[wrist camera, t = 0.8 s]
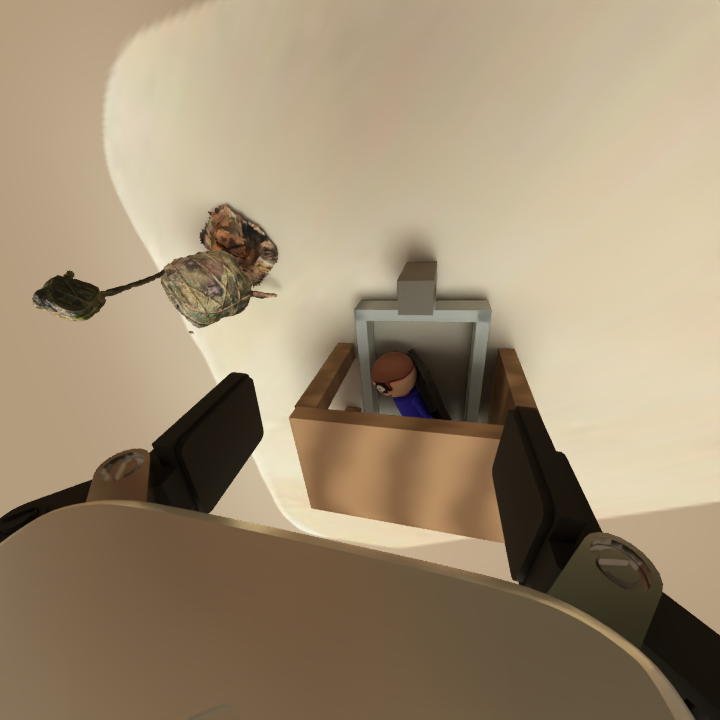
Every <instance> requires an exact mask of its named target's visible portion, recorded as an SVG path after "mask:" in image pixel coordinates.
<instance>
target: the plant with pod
mask: <svg viewBox="0 0 720 720" xmlns="http://www.w3.org/2000/svg"><path fill="white" fill-rule="evenodd" d="M219 207H220V209H221V210H220V209H217V208H215V213H213V212H208V213H209V214H210V215H211V216H212V218H211V217H209V219H210V221H211V222H210V221H208V225H207V223H206V227H205V230H204V229H203V230H204V231H203V230H202V232H203V233H200V239H201V240H200V241H202V242H201V244H202V243H203V244H204V246H205V248H206V247H207V249H208V250H210V251H206V252H198V253H196V254H195V255H189V256H187V257H184V258H182V257H181V258H179V259H174V260H173V261H172V263H171V264H168V265H167V266H165V267H164V269H163V270H162V271H161V272H159V273H157V274H155V275H153V276H150V277H147V278H145V279H143V280H139V281H136V282H133V283H130V284H128V285H125V286H120V287H116V288H112V289H108V290H106V291H101V292H100V291H99V288H98V287H96V286H94V285H92V284H90V283H86V282H83V281H80V280H77V279H73V277H74V273H73V272H72V271H67V273H66V274H64V276H63V277H62V276H59V275H58V276H56V277H54V278H51V279H50V280H49V281H47V282H46V283H45V284H44V286H43V288H42V289H40V290H37V291H36V292H35V294H34V295H33V298H32V299H33V305H34V306H35V307H36V308H39V309H42V310H44V311H46V312H49V313H50V314H53V315H56V316H58V317H59V318H62V319H67V320H70V321H85V320H88V319H89V318H91V317H92V316H93V315H94V314H95V313H97V312H99V311H100V309H101V307H102V306H104V304H105V302H106V300H105V297H106V296H113V295H116V294H118V293H121V292H122V291H124V290H129V289H131V288H132V287H138V286H141V285H143V284H145V283H149V282H150V281H153V280H155V279H156V278H160V277H161V284H162V285H163V288H164V290H165V292H166V294H167V296H168V298H169V300H170V302H171V303H172V304H174V306H175V307H176V309H177V310H178V311H179V312H180V313H181V314H182V315H184V316H185V317H186V319H187V320H188V321H190V322H191V323H192V324H193V325H194V326H196V327H197V328H201V327H205V326H208V325H210V324H213V323H215V322H217V321H219V320H220V319H221V318H223V317H228V316H234V315H236V314H239V313H241V312H242V311H244V310H245V308H246V307H247V306H248V303H249V300H250V297H256V298H262V299H263V298H266V297H277V295H276V294H273V293H272V294H271V293H263V292H258V291H251V286H252V285H253V287H254V286H255V285H256V286H257V284H259V285H260V283H262V282H261V281H262V280H263V278H264V277H265V276H266V275H268V272H267V271H271V268H272V266H273V265H272V264H274V265H275V263H277V262H276V260H277V259H278V258H277V255H278V253H277V250H276V248H275V247H276V246H275V247H274V244H273V245H272V242H271V243H270V240H269V239H268V238H267V237H266V235H265V234H264V232H262V231H261V230H260V228H259V226H256V225H254V224H251V223H250V222H249V221H248V220H247V221H245V222H244V220H243V218H242V216H241V215H240V214H236V215H235V214H234V213H233V211H231V210H230V208H228V206H227V205H225V206H219ZM189 333H193V331H189Z"/></svg>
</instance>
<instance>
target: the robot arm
mask: <svg viewBox="0 0 720 720" xmlns="http://www.w3.org/2000/svg"><path fill="white" fill-rule="evenodd" d="M263 433H264V431H263V426H262V421H261V416H260V411H259V406H258V402H257V397H256V392H255V387H254V382H253V380H252V378H250V377H249V375H248V374H245V373H236V372H232V373H230V374H229V375H228V376H227V377H226V378H225V379H223V380H222V381H221V382H220V383H219V384H218V385H217V386H216V387H215V388H213V389H212V390H211V391H210V392H209V393H208V394H207V395H206V396H205V397H204V398H202V399H201V400H200V401H199V402H198V403H197V404H196V405H195V406H194V407H192V408H191V409H190V410H189V411H188V412H187V413H186V414H185V415H183V416H182V417H181V418H180V419H179V420H178V421H177V422H176V423H175V424H174V425H172V426H171V427H170V428H169V429H168V430H167V431H166V432H165V433H164V434H162V435H161V436H160V437H159V438H158V439H157V440H156V441H155V442H153V443H152V446H153V448H154V449H153V450H152V451H151V452H150V453H149V452H148V451H147V450H144V449H130V450H126V451H123V452H120V453H117V454H116V455H114V456H112V457H110V458H108V459H107V460H106V461H104V462H103V463H102V464H101V465H100V466H99V467H98V468H97V469H96V472H95V473H94V476H93V479H92V480H90V481H87V482H84V483H81V484H79V485H76V486H73V487H70V488H67V489H65V490H62V491H59V492H56V493H53V494H51V495H48V496H45V497H42V498H40V499H37V500H34V501H31V502H29V503H26V504H24V505H22V506H19V507H17V508H15V509H13V510H11V511H10V512H8V513H7V514H6V515H4V516H3V517H1V518H0V720H720V635H719V634H717V633H716V632H715V631H713V630H712V629H711V628H709V627H708V626H707V625H705V624H704V623H703V622H702V621H700V620H699V619H697V618H696V617H695V616H694V615H692V614H691V613H690V612H688V611H687V610H686V609H684V608H683V607H682V606H680V605H679V604H677V602H675V601H674V600H673V599H671V598H670V597H669V596H667V595H666V594H665V593H663V592H662V590H663V583H662V580H661V577H660V574H659V572H658V571H657V569H656V568H655V566H654V565H653V563H652V562H651V561H650V560H649V559H648V558H647V557H646V556H645V554H643V552H641V551H640V550H639V549H637V548H636V547H635V546H634V545H632V544H631V543H629V542H627V541H625V540H623V539H622V538H620V537H617V536H615V535H612V534H609V533H603V532H602V531H601V528H600V527H599V524H598V522H597V520H596V518H595V516H594V514H593V512H592V510H591V507H590V505H589V503H588V501H587V499H586V497H585V495H584V493H583V491H582V489H581V487H580V484H579V482H578V480H577V478H576V476H575V474H574V472H573V470H572V468H571V466H570V464H569V461H568V459H567V458H566V456H565V454H563V453H562V452H558V451H556V450H555V448H554V445H553V443H552V441H551V439H550V436H549V434H548V432H547V430H546V428H545V425H544V423H543V421H542V419H541V416H540V414H539V412H538V410H537V408H534V407H525V406H516V407H515V409H509V411H508V414H507V417H506V421H505V424H504V428H503V431H502V435H501V438H500V442H499V445H498V449H497V452H496V456H495V459H494V463H493V467H492V478H493V483H494V488H495V494H496V499H497V504H498V510H499V515H500V520H501V525H502V531H503V536H504V541H505V546H506V552H507V557H508V562H509V567H510V573H511V577H512V579H513V580H514V581H518V582H519V585H518V584H515V583H511V582H508V581H504V580H501V579H498V578H494V577H489V576H486V575H481V574H477V573H473V572H469V571H465V570H461V569H456V568H452V567H448V566H444V565H440V564H436V563H431V562H427V561H422V560H418V559H413V558H409V557H404V556H400V555H395V554H391V553H387V552H382V551H377V550H373V549H369V548H364V547H360V546H355V545H351V544H346V543H341V542H337V541H333V540H328V539H323V538H319V537H314V536H309V535H305V534H300V533H296V532H291V531H287V530H282V529H277V528H273V527H268V526H264V525H258V524H254V523H249V522H245V521H240V520H235V519H231V518H226V517H221V516H216V515H212V514H208V513H210V512H211V511H212V510H213V508H214V507H215V506H216V504H217V503H218V501H219V500H220V498H221V496H223V494H224V493H225V491H226V490H227V488H228V487H229V485H230V484H231V483H232V481H233V480H234V478H235V477H236V475H237V474H238V473H239V471H240V470H241V468H242V467H243V465H244V464H245V463H246V461H247V460H248V458H249V457H250V455H251V454H252V453H253V451H254V450H255V448H256V447H257V445H258V444H259V442H260V441H261V439H262V437H263Z"/></svg>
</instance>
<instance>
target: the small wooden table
mask: <svg viewBox="0 0 720 720" xmlns="http://www.w3.org/2000/svg"><path fill="white" fill-rule="evenodd" d="M354 359H355V351H354V344H351V343H338V344H337V346H336V347H335V349H334V350H333V352H332V353H331V355H330V356H329V357H328V359H327V360H326V362H325V363H324V365H323V366H322V368H321V369H320V370H319V372H318V373H317V375H316V376H315V378H314V379H313V381H312V382H311V383H310V385H309V386H308V388H307V389H306V391H305V392H304V393H303V395H302V396H301V398H300V399H299V401H298V402H297V404H296V405H295V410H294V411H293V413H292V414H291V415H290V417H289V420H290V424H291V428H292V432H293V436H294V440H295V444H296V448H297V452H298V456H299V460H300V465H301V469H302V473H303V477H304V481H305V485H306V489H307V493H308V497H309V501H310V505H311V508H313V509H318V510H324V511H329V512H335V513H340V514H346V515H351V516H357V517H362V518H368V519H373V520H379V521H384V522H390V523H395V524H401V525H406V526H412V527H417V528H423V529H428V530H434V531H439V532H445V533H450V534H456V535H461V536H467V537H473V538H478V539H484V540H489V541H495V542H500V543H505V541H504V536H503V531H502V525H501V520H500V515H499V510H498V504H497V499H496V494H495V488H494V483H493V478H492V467H493V463H494V459H495V456H496V452H497V449H498V445H499V442H500V438H501V435H502V431H503V428H504V424H505V421H506V417H507V414H508V411H509V409H515V407H516V406H525V407H534V408H537V406H536V403H535V400H534V398H533V395H532V393H531V390H530V388H529V385H528V382H527V380H526V377H525V375H524V372H523V370H522V367H521V364H520V362H519V359H518V357H517V354H516V352H515V349H500V348H499V349H498V356H497V363H496V370H495V377H494V383H493V390H492V397H491V404H490V411H489V418H488V424H483V423H472V422H461V421H450V420H439V419H428V418H417V417H406V416H396V415H385V414H374V413H363V412H361V408H353V407H347V408H346V410H345V411H341V410H330V409H328V407H329V406H330V404H331V402H332V400H333V398H334V396H335V394H336V393H337V391H338V389H339V387H340V385H341V383H342V381H343V380H344V378H345V376H346V374H347V372H348V370H349V368H350V367H351V365H352V363H353V361H354ZM537 410H538V408H537ZM538 412H539V411H538ZM539 414H540V413H539ZM541 419H542V418H541Z"/></svg>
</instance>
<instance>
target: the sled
mask: <svg viewBox="0 0 720 720" xmlns="http://www.w3.org/2000/svg"><path fill="white" fill-rule="evenodd" d="M436 277H437V262H416V263H407V264H406V265H405V267H404V269H403V271H402V273H401V275H400V277H399V279H398V280H397V295H398V301H360V303H359V304H358V305H357V307H356V308H355V309H354V313H355V323H356V333H357V343H358V353H359V363H360V374H361V384H362V394H363V404H364V413H374V414H379V402H378V390H377V388H376V387H375V386H374V384H373V381H372V376H371V372H372V367H373V365H374V363H375V361H376V359H375V344H374V330H373V321H426V322H473V332H472V343H471V353H470V363H469V373H468V384H467V394H466V404H465V414H464V422H472V423H477V422H478V414H479V406H480V398H481V390H482V382H483V374H484V366H485V358H486V350H487V342H488V334H489V326H490V318H491V307H490V304H489V301H488V300H436Z"/></svg>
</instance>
